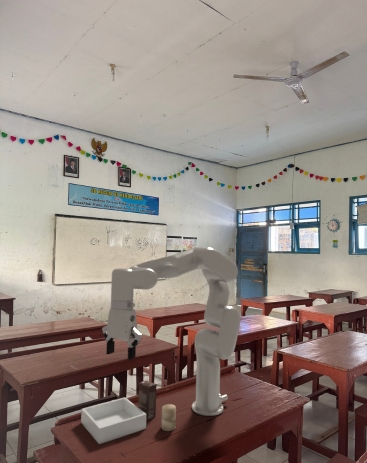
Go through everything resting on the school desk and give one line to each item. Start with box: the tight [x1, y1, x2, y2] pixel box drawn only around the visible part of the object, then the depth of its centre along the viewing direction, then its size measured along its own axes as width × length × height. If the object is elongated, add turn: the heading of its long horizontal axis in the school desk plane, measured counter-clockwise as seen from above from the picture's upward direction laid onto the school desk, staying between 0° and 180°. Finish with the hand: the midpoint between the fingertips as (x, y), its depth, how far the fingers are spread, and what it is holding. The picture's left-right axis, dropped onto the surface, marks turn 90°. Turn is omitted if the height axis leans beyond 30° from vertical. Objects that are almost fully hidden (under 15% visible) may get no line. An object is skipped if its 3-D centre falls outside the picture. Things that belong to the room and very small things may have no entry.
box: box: [137, 380, 157, 420], centre depth 132 cm, size 6×4×12 cm
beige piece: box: [161, 403, 177, 432], centre depth 124 cm, size 5×5×7 cm
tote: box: [80, 397, 147, 445], centre depth 124 cm, size 18×17×5 cm
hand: (120, 356), depth 116 cm, fingers open, 9 cm apart
